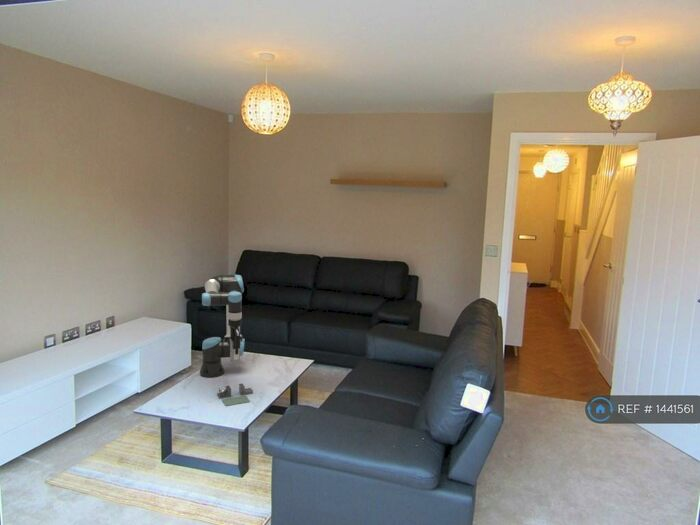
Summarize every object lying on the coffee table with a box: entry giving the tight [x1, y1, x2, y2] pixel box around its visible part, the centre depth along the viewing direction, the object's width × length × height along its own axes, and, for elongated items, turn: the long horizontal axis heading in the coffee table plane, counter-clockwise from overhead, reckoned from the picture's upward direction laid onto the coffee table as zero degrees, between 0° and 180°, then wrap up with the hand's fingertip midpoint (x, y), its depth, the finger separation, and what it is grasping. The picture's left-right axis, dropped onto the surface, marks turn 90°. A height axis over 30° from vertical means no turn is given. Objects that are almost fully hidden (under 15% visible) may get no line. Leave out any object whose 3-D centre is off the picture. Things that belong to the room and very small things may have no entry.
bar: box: [229, 338, 241, 365], centre depth 286 cm, size 5×5×14 cm
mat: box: [221, 394, 251, 407], centre depth 281 cm, size 9×14×1 cm, turn 118°
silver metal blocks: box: [216, 383, 254, 400], centre depth 289 cm, size 5×20×6 cm, turn 118°
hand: (235, 357), depth 286 cm, fingers closed on bar, 5 cm apart
